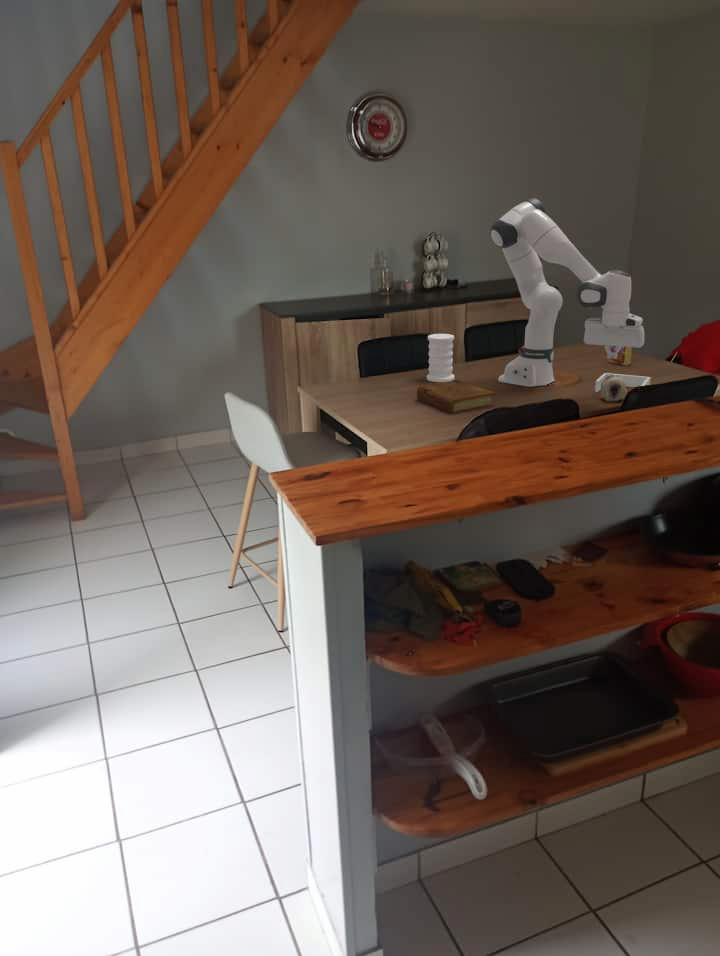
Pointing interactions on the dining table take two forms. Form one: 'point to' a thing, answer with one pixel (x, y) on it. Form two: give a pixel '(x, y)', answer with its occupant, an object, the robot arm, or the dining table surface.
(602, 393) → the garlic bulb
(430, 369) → the decorative container
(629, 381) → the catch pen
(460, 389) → the diary
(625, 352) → the candy box
